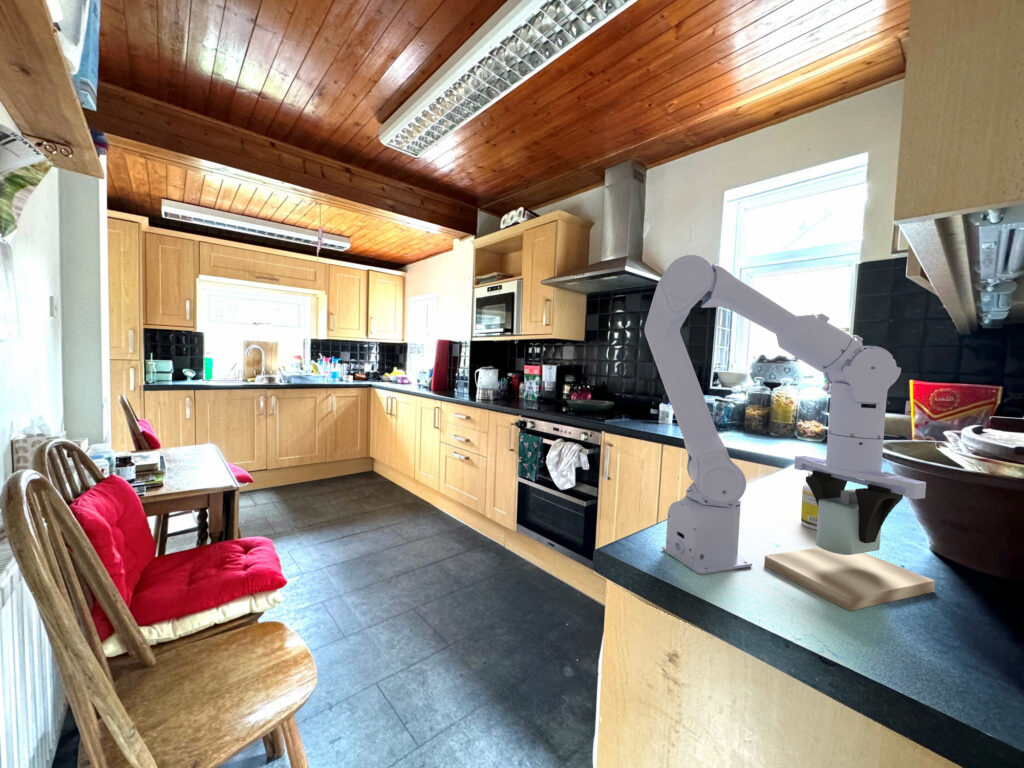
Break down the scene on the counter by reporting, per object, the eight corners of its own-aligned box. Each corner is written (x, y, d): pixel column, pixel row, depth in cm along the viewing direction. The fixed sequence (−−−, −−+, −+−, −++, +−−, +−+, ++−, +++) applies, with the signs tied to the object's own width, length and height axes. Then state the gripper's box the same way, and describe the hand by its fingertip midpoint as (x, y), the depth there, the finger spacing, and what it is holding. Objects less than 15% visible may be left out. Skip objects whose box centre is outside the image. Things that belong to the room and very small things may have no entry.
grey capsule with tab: (840, 556, 51) (844, 498, 51) (808, 543, 55) (812, 488, 55) (886, 548, 54) (890, 493, 54) (853, 536, 58) (857, 484, 57)
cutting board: (848, 610, 47) (849, 598, 47) (764, 565, 57) (764, 555, 57) (933, 591, 52) (934, 580, 52) (841, 553, 62) (842, 544, 62)
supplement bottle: (824, 522, 76) (827, 471, 75) (845, 533, 70) (849, 479, 70) (794, 520, 76) (797, 469, 76) (812, 531, 71) (816, 477, 70)
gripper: (945, 445, 48) (936, 555, 49) (820, 426, 62) (814, 513, 63) (907, 446, 46) (898, 562, 47) (786, 427, 60) (781, 516, 60)
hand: (848, 534), depth 54 cm, fingers closed on grey capsule with tab, 4 cm apart
